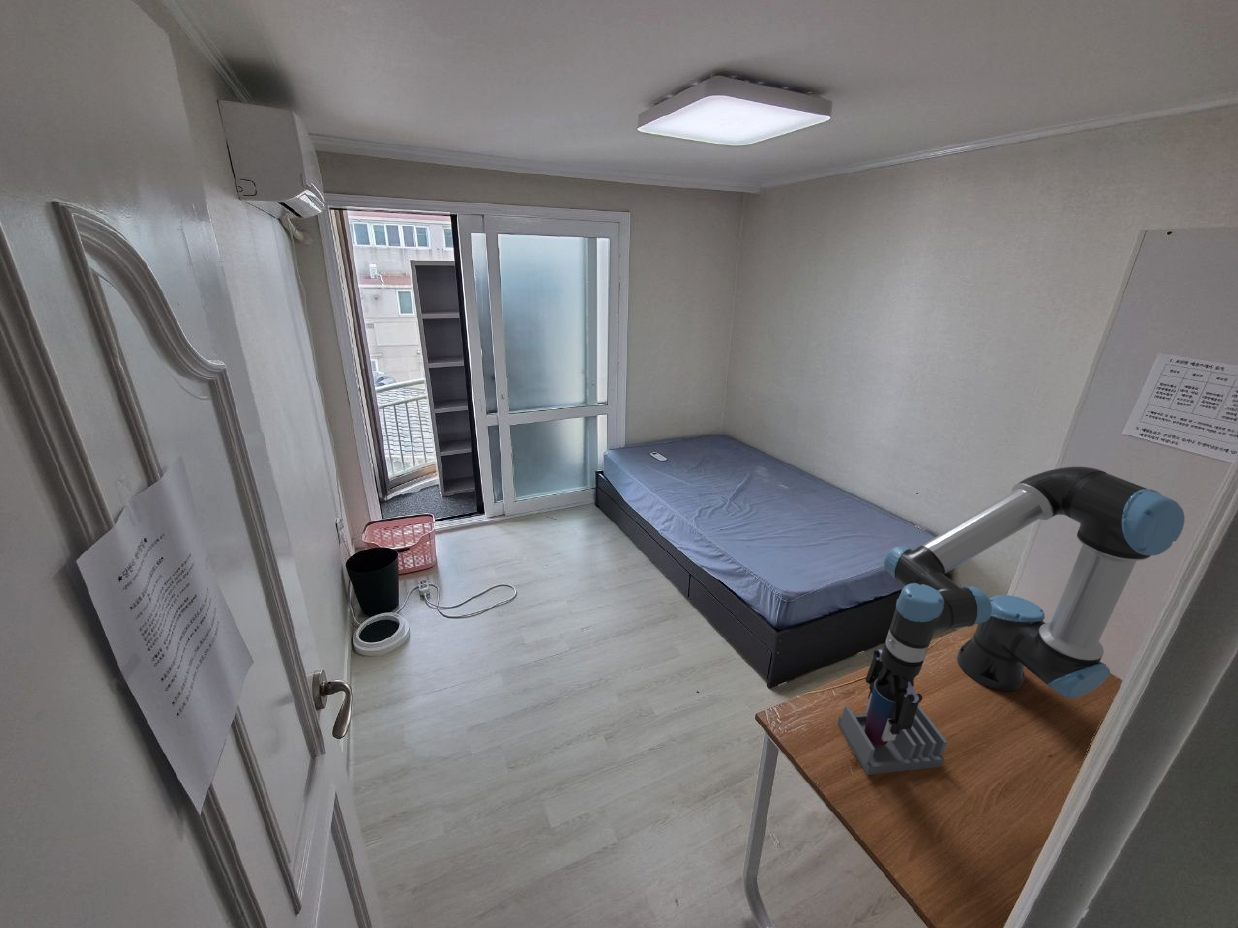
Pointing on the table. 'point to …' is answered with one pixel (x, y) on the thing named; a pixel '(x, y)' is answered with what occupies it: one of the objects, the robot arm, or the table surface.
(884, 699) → the cup
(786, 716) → the table surface
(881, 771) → the rack
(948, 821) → the table surface
